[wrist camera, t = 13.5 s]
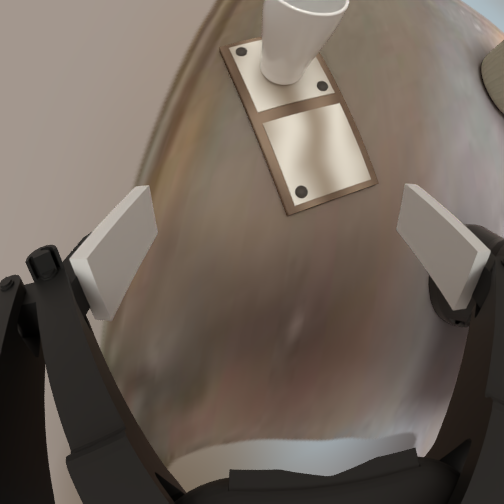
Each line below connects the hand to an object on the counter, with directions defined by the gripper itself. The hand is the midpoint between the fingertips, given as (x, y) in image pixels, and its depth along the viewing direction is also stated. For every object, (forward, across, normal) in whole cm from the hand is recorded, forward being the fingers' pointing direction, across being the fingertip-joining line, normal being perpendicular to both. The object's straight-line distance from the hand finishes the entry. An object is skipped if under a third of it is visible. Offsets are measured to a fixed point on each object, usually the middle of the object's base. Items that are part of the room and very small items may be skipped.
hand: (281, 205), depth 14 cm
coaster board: (+23, +4, +3) cm, 23 cm away
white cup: (+24, +2, +8) cm, 26 cm away
